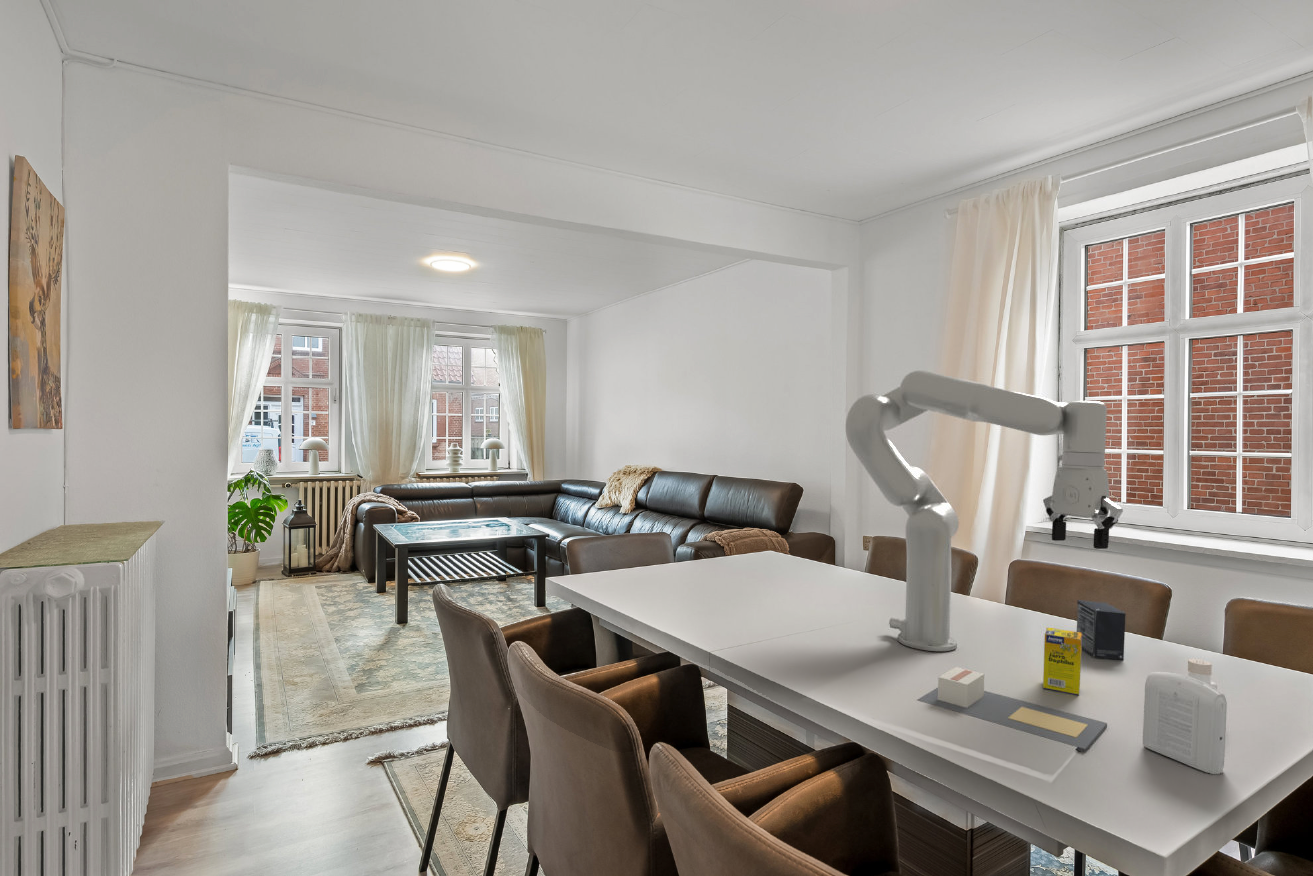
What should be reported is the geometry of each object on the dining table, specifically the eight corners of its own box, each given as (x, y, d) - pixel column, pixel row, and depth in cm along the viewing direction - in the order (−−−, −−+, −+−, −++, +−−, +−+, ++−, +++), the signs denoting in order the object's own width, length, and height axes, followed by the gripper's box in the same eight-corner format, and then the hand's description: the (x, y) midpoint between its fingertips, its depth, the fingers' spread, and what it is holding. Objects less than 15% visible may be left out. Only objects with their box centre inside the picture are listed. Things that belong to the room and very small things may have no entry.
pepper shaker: (1203, 723, 118) (1205, 666, 118) (1178, 714, 122) (1180, 659, 122) (1218, 719, 120) (1219, 664, 120) (1192, 711, 123) (1194, 657, 123)
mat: (916, 703, 124) (916, 699, 124) (948, 684, 134) (948, 680, 134) (1085, 753, 106) (1085, 748, 106) (1107, 726, 116) (1107, 722, 116)
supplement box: (1079, 699, 128) (1081, 639, 128) (1042, 692, 131) (1044, 633, 131) (1080, 689, 133) (1082, 632, 133) (1044, 683, 136) (1046, 626, 136)
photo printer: (1230, 772, 101) (1233, 686, 101) (1212, 777, 99) (1215, 690, 99) (1154, 742, 110) (1157, 664, 110) (1137, 747, 108) (1139, 667, 108)
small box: (1126, 661, 151) (1128, 612, 151) (1093, 658, 152) (1094, 610, 152) (1105, 646, 162) (1106, 601, 161) (1074, 644, 163) (1075, 599, 163)
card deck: (937, 699, 124) (938, 676, 124) (955, 688, 130) (956, 666, 130) (966, 707, 121) (967, 684, 121) (983, 696, 126) (984, 673, 126)
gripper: (1033, 458, 151) (1030, 537, 152) (1108, 463, 135) (1104, 552, 135) (1060, 459, 154) (1056, 537, 154) (1136, 464, 137) (1132, 551, 138)
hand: (1078, 544), depth 145 cm, fingers open, 9 cm apart
